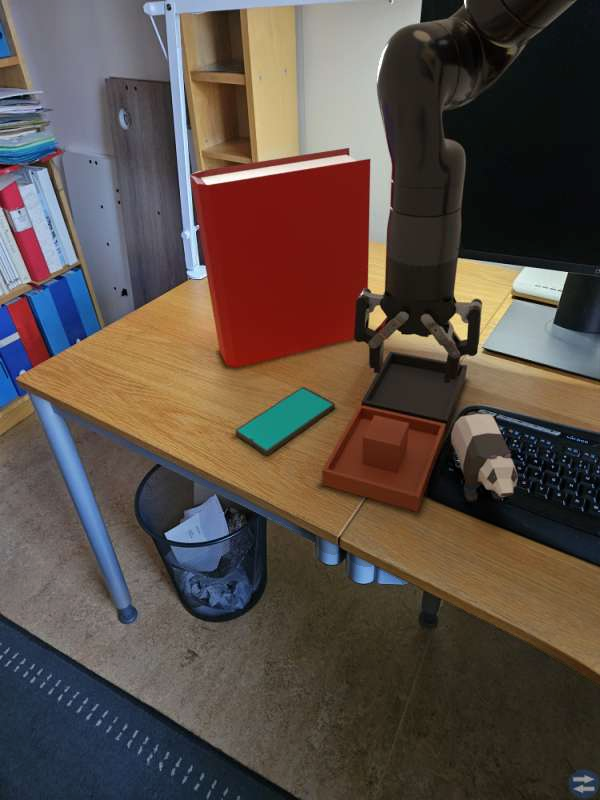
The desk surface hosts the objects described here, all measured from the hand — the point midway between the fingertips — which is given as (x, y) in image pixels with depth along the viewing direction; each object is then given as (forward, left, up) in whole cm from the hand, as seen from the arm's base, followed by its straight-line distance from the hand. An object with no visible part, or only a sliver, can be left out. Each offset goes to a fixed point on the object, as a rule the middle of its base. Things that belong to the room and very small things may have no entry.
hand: (412, 374), depth 69 cm
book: (+29, -25, -16) cm, 41 cm away
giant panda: (-10, 0, -16) cm, 19 cm away
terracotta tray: (+3, 0, -16) cm, 16 cm away
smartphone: (+20, -3, -16) cm, 26 cm away
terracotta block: (+3, 0, -15) cm, 15 cm away
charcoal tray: (+3, -16, -16) cm, 23 cm away
